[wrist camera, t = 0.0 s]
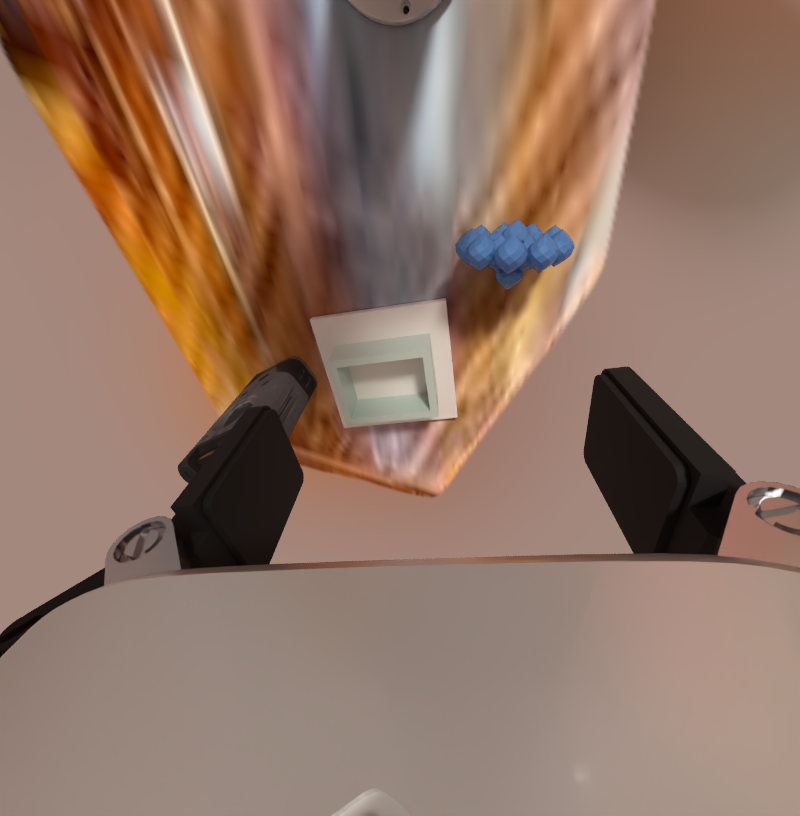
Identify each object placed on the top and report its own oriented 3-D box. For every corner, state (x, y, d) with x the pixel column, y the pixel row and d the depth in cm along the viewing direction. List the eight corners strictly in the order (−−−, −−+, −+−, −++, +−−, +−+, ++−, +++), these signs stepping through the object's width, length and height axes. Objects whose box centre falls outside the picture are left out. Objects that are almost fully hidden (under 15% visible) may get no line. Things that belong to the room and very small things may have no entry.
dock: (311, 317, 48) (297, 334, 43) (445, 297, 45) (447, 313, 40) (345, 424, 57) (336, 448, 52) (457, 413, 54) (459, 438, 49)
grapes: (449, 276, 43) (455, 307, 33) (453, 213, 40) (461, 227, 30) (547, 276, 42) (582, 308, 33) (560, 212, 39) (605, 226, 29)
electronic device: (297, 352, 51) (232, 439, 34) (322, 384, 53) (272, 480, 37) (249, 377, 54) (168, 469, 37) (275, 406, 56) (209, 505, 40)
